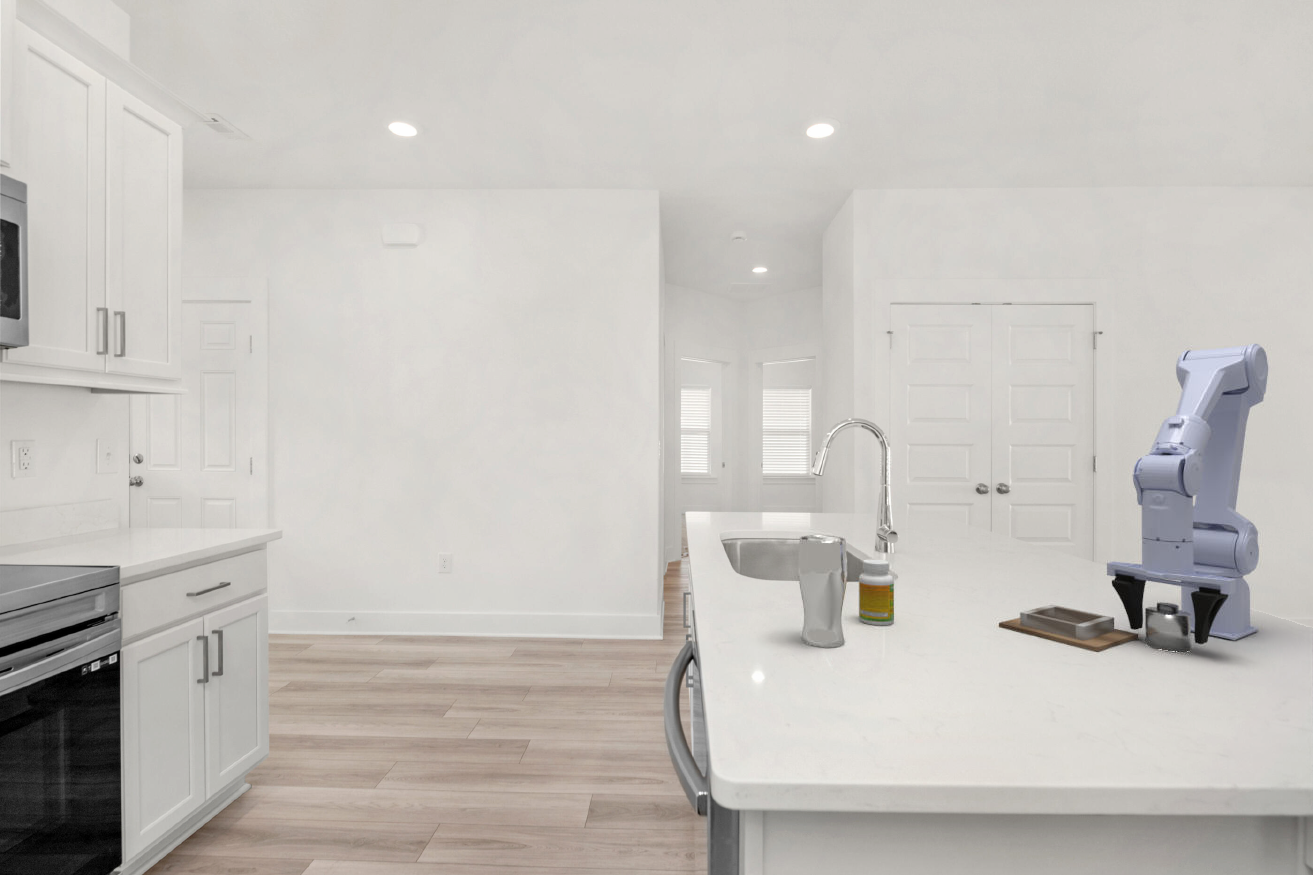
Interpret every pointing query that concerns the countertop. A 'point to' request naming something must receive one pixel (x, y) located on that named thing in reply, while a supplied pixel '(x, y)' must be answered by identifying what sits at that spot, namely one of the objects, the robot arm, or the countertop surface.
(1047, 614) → the carrier board
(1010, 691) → the countertop surface
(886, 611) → the supplement bottle
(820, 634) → the beer glass
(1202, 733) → the countertop surface
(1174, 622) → the chrome knobbed weight
